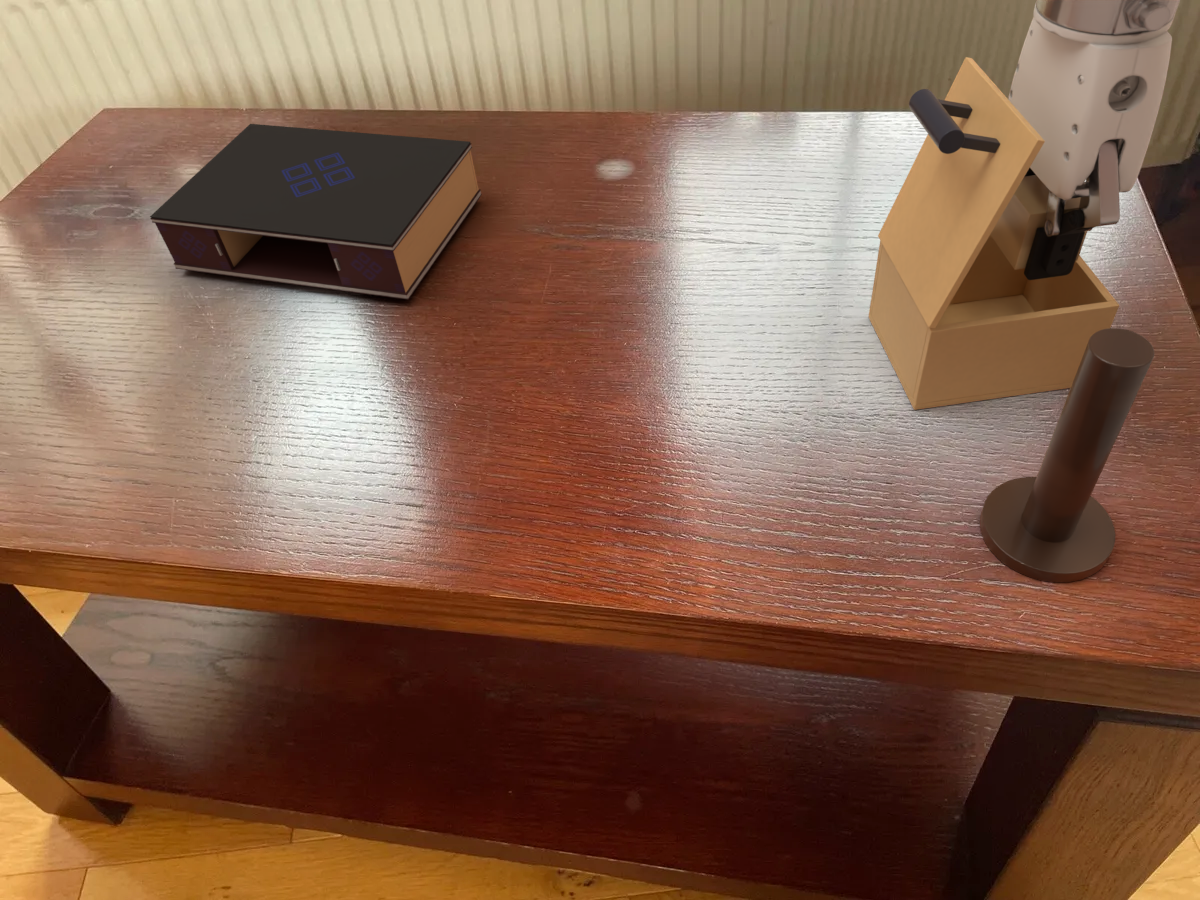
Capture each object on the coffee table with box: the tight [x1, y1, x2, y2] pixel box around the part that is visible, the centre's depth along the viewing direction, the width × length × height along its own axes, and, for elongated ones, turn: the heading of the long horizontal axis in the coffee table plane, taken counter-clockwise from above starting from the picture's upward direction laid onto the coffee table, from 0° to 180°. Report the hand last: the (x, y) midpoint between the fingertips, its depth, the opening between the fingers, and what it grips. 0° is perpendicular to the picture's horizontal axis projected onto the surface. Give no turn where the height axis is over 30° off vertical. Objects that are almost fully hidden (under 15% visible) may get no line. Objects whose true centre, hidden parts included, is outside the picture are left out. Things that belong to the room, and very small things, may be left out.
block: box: [990, 175, 1088, 269], centre depth 65 cm, size 4×4×4 cm
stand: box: [979, 327, 1155, 583], centre depth 56 cm, size 8×8×16 cm
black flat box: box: [149, 123, 482, 300], centre depth 90 cm, size 17×25×7 cm
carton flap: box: [877, 56, 1045, 328], centre depth 63 cm, size 14×11×5 cm
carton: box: [868, 235, 1120, 411], centre depth 71 cm, size 13×11×8 cm
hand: (1031, 251), depth 67 cm, fingers closed on block, 4 cm apart
